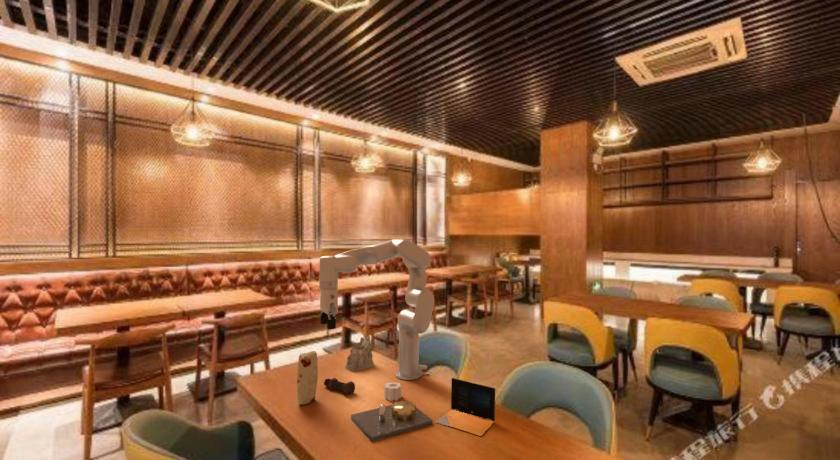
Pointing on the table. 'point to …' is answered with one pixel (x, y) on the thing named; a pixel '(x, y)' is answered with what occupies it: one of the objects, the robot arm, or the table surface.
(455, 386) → the laptop
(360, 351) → the grey jagged tapered piece
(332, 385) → the bolt
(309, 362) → the food model
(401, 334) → the robot arm
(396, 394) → the planet gear
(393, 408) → the sun gear
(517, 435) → the table surface
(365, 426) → the carrier plate
